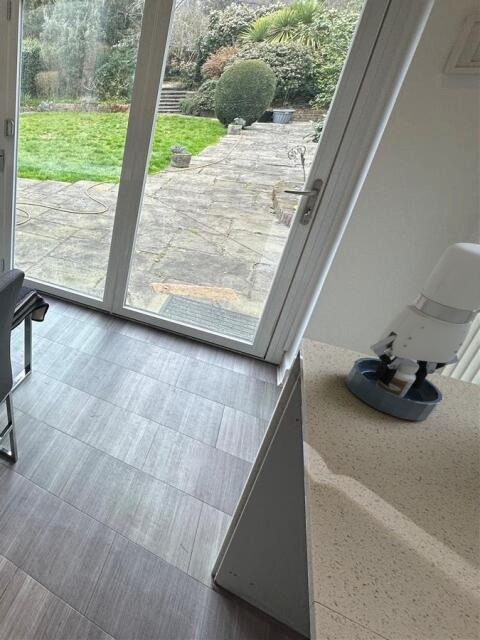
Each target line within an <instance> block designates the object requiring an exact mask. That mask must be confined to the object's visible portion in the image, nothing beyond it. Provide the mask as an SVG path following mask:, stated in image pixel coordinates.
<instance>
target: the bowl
mask: <svg viewBox="0 0 480 640" xmlns="http://www.w3.org/2000/svg"><path fill="white" fill-rule="evenodd" d="M381 362H382V361H381V360H380V359H379V358H375V357H360V358H359V359H357V360H355V361H354V362H353V364H352V366H351V368H350V370H349V371H348V373H347V374H346V377H345V384H346V386H347V387H348V389H349V390H350V391H351V392H352V393H353V394H354V395H355V396H356V397H357V398H359V399H360V400H361V401H363V402H364V403H366V404H367V405H369V406H371V407H373V408H375V409H376V410H378V411H381V412H383V413H385V414H388V415H391V416H393V417H395V418H396V417H397V418H400V419H404V420H411V421H424V420H427V419H429V418H431V416H432V415H433V414H434V412H435V411H436V410H437V408H438V407H439V405H440V404H441V403H442V402H443V393H442V392H441V391H440V389H439V387H438V386H436V385H435V383H433V382H431V380H429V379H428V378H427V377H426V378H425V379H424V381H423V382H422V384H421V385H420V387H419V388H418V389H415V388H413V387H410V388H409V390H408V391H407V393H406V394H405V395H404V397H400V396H397V395H395V394H393V393H390V392H388V391H386V390H384V389H382V388H380V387H378V386H377V385H376V383H377V381H378V380H379V379H378V378H377V377H376V376H375V375H374V373H375V372H376V370H377V368H378V367H379V365H380V363H381Z"/></svg>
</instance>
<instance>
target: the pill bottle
mask: <svg viewBox="0 0 480 640" xmlns="http://www.w3.org/2000/svg"><path fill="white" fill-rule="evenodd" d="M416 362H417V361H415V360H413V359H404V360H403V361H402V362H401V363H400V364H399V365H398V366H397V367H396V368H395V369H396V370H397V372H396V374H395V375H394V377H393V378H392V380H391V381H390V383H389V384H388V385H386V384H383V383H382V382H381V381H380V380H378V381H377V383H376V385H377V386H378V387H380V388H382V389H384V390H386V391H388V392H390V393H393V394H395V395H397V396H400V397H404V395H405V394H406V393H407V391H408V390H409V388H410V387H411V385H412V384H413V382H414V381H415V379H416V375H415V374H414V373H416V372H417V370H418V369H419V365H418V364H417V363H416Z"/></svg>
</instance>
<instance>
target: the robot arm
mask: <svg viewBox="0 0 480 640" xmlns="http://www.w3.org/2000/svg"><path fill="white" fill-rule="evenodd" d="M479 313H480V244H478V243H472V242H455V243H453V244H451V245H449V246H447V248H446V249H445V251H444V252H443V253H442V255H441V257H440V258H439V260H438V262H437V263H436V264H435V266H434V268H433V270H432V271H431V273H430V274H429V276H428V278H427V279H426V281H425V283H424V284H423V286H422V288H421V290H420V291H419V293H418V294H417V296H416V298H415V299H414V300H413V302H412V304H411V305H410V304H407V305H405V306H404V307H403V308H401V310H400V311H398V313H397V314H396V315H395V316H394V317H393V318H392V320H391V321H390V322H389V323H388V325H387V326H386V328H385V329H384V330H383V332H382V334H381V335H380V337H379V338H378V342H376V343H374V344H372V345H370V347H369V349H370V350H371V351H372V352H373V353H374V354H376V356H377V357H378V359H380V360H381V361H382V362H381V363H380V365H379V367H378V368H377V370H376V372H375V373H374V375H375V376H376V377H377V378H378V379H379V380H380V381H381V382H382V383H383V384H386V385H388V384H389V383H390V381H391V380H392V378H393V377H394V375H395V374H396V372H397V370H396V369H395V368H396V367H397V366H398V365H399V364H400V363H401V362H402V361H403V360H404V359H410V360H412V361H415V362H416V363H417V364H418V365H419V369H418V370H417V372H416V373H414V374H415V375H416V379H415V381H414V382H413V384H412V385H411V387H413V388H415V389H418V388H419V387H420V385H421V384H422V382H423V381H424V379H425V378H426V379H427V376H428V375H432V374H434V373H435V372H436V370H438V369H442V368H444V367H446V366H449V365H452V364H456V363H458V362H459V358H458V355H457V354H458V353H459V352H460V350H461V348H463V345H464V343H465V341H466V340H467V338H468V335H469V333H470V330H471V327H472V324H473V322H472V321H473V319H474V317H475V316H476V315H477V314H479ZM393 356H394V357H393ZM392 357H393V358H392ZM391 358H392V359H391Z"/></svg>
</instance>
